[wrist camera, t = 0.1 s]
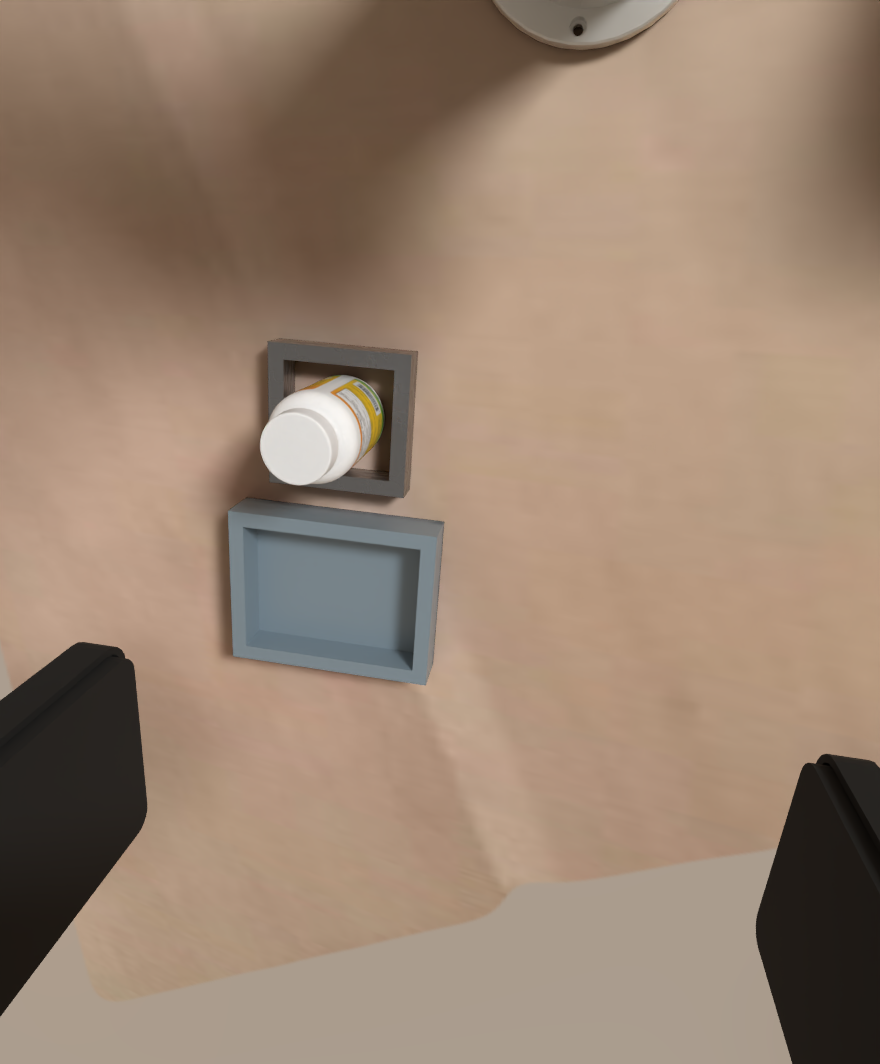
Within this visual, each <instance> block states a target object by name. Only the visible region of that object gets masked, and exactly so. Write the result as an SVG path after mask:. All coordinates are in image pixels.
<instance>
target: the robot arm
mask: <svg viewBox="0 0 880 1064" xmlns="http://www.w3.org/2000/svg"><path fill="white" fill-rule="evenodd" d="M492 1H493V2H494V4H495V5H496V6H497V8H498V9H499V11H500V12H501V13H502V14H503V15H504V16H505V17H506V18H507V19H508V20H509V21H510V22H511V23H512V24H513V25H514V26H515V27H516V28H517V29H519V30H520V31H522V32H524V33H525V34H527V35H529V36H530V37H532V38H534V39H535V40H537V41H539V42H542V43H545V44H548V45H551V46H554V47H557V48H565V49H575V50H587V49H595V48H603V47H607V46H610V45H613V44H616V43H619V42H622V41H624V40H627V39H629V38H631V37H633V36H635V35H636V34H638V33H640V32H642V31H643V30H645V29H647V28H649V27H650V26H652V25H653V24H654V23H655V22H656V21H658V20H659V19H660V18H661V17H662V16H663V15H665V14H666V13H667V12H668V11H669V10H671V9H672V8H673V6H674V5H675V4H676V3H677V2H678V1H679V0H492ZM578 26H579V27H581V28H582V29H583V33H582V34H581V35H580V36H575V35H574V34H573V30H574V29H575V28H576V27H578ZM146 813H147V797H146V786H145V776H144V765H143V754H142V744H141V733H140V723H139V712H138V702H137V691H136V680H135V670H134V665H133V663H132V661H131V660H129V659H125V655H124V653H123V651H122V650H121V649H119V648H118V647H112V646H106V645H99V644H92V643H86V642H78V643H76V644H75V645H73V646H71V647H70V648H69V649H67V650H66V651H65V652H63V653H62V654H61V655H59V656H58V657H57V658H56V659H54V660H53V661H52V662H50V663H49V664H48V665H46V666H45V667H44V668H42V669H41V670H40V671H39V672H37V673H36V674H35V675H33V676H32V677H31V678H29V679H28V680H27V681H25V682H24V683H23V684H21V685H20V686H19V687H18V688H16V689H15V690H14V691H12V692H11V693H10V694H8V695H7V696H6V697H4V698H3V699H2V700H1V701H0V1016H1V1015H2V1014H3V1012H4V1011H5V1010H6V1008H7V1007H8V1006H9V1004H10V1003H11V1002H12V1000H13V999H14V998H15V996H16V995H17V994H18V992H19V991H20V990H21V988H22V987H23V986H24V984H25V983H26V982H27V980H28V979H29V978H30V976H31V975H32V974H33V972H34V971H35V970H36V969H37V967H38V966H39V965H40V963H41V962H42V961H43V959H44V958H45V957H46V955H47V954H48V953H49V951H50V950H51V949H52V947H53V946H54V944H55V943H56V942H57V941H58V939H59V938H60V937H61V935H62V934H63V933H64V931H65V930H66V929H67V927H68V926H69V925H70V923H71V922H72V921H73V919H74V918H75V917H76V915H77V914H78V913H79V911H80V910H81V909H82V907H83V906H84V905H85V903H86V902H87V901H88V899H89V898H90V897H91V895H92V894H93V893H94V892H95V890H96V889H97V888H98V886H99V885H100V884H101V882H102V881H103V880H104V878H105V877H106V876H107V874H108V873H109V872H110V870H111V869H112V868H113V866H114V865H115V864H116V862H117V861H118V860H119V858H120V857H121V856H122V854H123V853H124V852H125V850H126V849H127V848H128V846H129V845H130V844H131V842H132V841H133V840H134V838H135V837H136V836H137V834H138V833H139V831H140V830H141V828H142V826H143V823H144V821H145V817H146ZM756 938H757V944H758V948H759V952H760V955H761V959H762V962H763V965H764V969H765V972H766V976H767V979H768V982H769V986H770V989H771V993H772V996H773V999H774V1003H775V1006H776V1009H777V1013H778V1016H779V1020H780V1023H781V1027H782V1030H783V1033H784V1037H785V1040H786V1044H787V1047H788V1050H789V1054H790V1057H791V1061H792V1064H880V768H879V767H878V766H877V765H876V763H875V762H872V761H870V760H864V759H857V758H850V757H844V756H837V755H831V754H824V755H821V757H820V758H819V759H818V760H817V763H816V764H814V763H806V764H805V765H804V766H803V768H802V770H801V773H800V776H799V779H798V783H797V786H796V789H795V793H794V796H793V799H792V802H791V806H790V809H789V812H788V816H787V819H786V822H785V825H784V829H783V832H782V835H781V838H780V842H779V845H778V848H777V852H776V855H775V858H774V862H773V865H772V868H771V871H770V875H769V878H768V881H767V884H766V888H765V891H764V894H763V897H762V901H761V904H760V908H759V911H758V914H757V919H756Z"/></svg>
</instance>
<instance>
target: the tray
mask: <svg viewBox="0 0 880 1064" xmlns="http://www.w3.org/2000/svg"><path fill="white" fill-rule="evenodd" d="M228 528H229V556H230V584H231V612H232V640H233V656H235V657H242V658H248V659H255V660H261V661H268V662H275V663H281V664H288V665H294V666H301V667H308V668H314V669H321V670H327V671H334V672H340V673H347V674H354V675H360V676H367V677H373V678H380V679H387V680H393V681H400V682H406V683H413V684H419V685H426V683H427V680H428V677H429V674H430V671H431V668H432V665H433V657H434V644H435V632H436V619H437V607H438V594H439V582H440V569H441V556H442V544H443V531H444V522H442V521H434V520H426V519H418V518H410V517H401V516H393V515H385V514H377V513H369V512H361V511H353V510H344V509H336V508H328V507H320V506H312V505H304V504H296V503H287V502H279V501H271V500H263V499H255V498H245V499H244V500H242V501H241V502H240V503H238V504H237V505H235V506H234V507H233V508H231V509H230V510H229V511H228Z"/></svg>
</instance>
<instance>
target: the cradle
mask: <svg viewBox="0 0 880 1064" xmlns="http://www.w3.org/2000/svg"><path fill="white" fill-rule="evenodd" d="M417 358H418V351H407V350H397V349H386V348H375V347H365V346H354V345H343V344H333V343H322V342H311V341H301V340H290V339H276V340H271V341H268V403H269V419H270V416H271V414H272V412H273V410H274V409H275V407H276V406H277V405H278V404H279V403H280V402H281V401H282V400H283V399H284V398H286V397H287V396H289V395H290V394H292V393H294V392H295V361H303V362H314V363H324V364H334V365H344V366H355V367H365V368H375V369H385V370H394V390H393V411H392V431H391V451H390V472H382V471H373V470H364V469H356V468H351V469H350V470H349V471H348V472H346V473H345V474H344V475H343V476H341V477H340V478H338V479H336V480H334V481H332V482H328V483H323V484H307V485H299V486H307V487H315V488H324V489H332V490H340V491H349V492H357V493H365V494H374V495H382V496H391V497H399V498H404V497H405V495H406V494H407V492H408V491H409V489H410V475H411V458H412V441H413V425H414V408H415V391H416V375H417ZM269 478H270V482H273V483H282V484H288V483H286V482H283V481H282V480H280V479H278V478H277V477H275V476H274V475H273V474H272V473H271V472H270V471H269ZM290 485H292V484H290Z"/></svg>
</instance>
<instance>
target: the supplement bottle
mask: <svg viewBox="0 0 880 1064" xmlns="http://www.w3.org/2000/svg"><path fill="white" fill-rule="evenodd" d="M384 423H385V415H384V409H383V405H382V403H381V400H380V398H379V396H378V395H377V393H376V392H375V391H374V389H373V388H372V387H371V386H370V385H368V384H367V383H366V382H364V381H363V380H361V379H359V378H356V377H353V376H349V375H335V376H331V377H328V378H325V379H323V380H321V381H319V382H317V383H314V384H312V385H310V386H308V387H306V388H304V389H301V390H299V391H297V392H294V393H292V394H290V395H289V396H287V397H286V398H284V399H283V400H282V401H281V402H280V403H279V404H278V405H277V406H276V407H275V409H274V410H273V412H272V414H271V416H270V419H269V422H268V423H267V425H266V426H265V428H264V430H263V432H262V435H261V439H260V452H261V456H262V459H263V461H264V463H265V465H266V467H267V468H268V469H269V471H270V472H271V473H272V474H273V475H274V476H275V477H277V478H278V479H280V480H282V481H283V482H286V483H288V484H292V485H307V484H323V483H328V482H332V481H334V480H336V479H338V478H340V477H341V476H343V475H344V474H345V473H346V472H348V471H349V470H350V469H351V468H352V467H353V466H354V465H355V464H356V463H357V462H358V461H359V460H360V459H361V458H362V457H363V456H364V455H365V454H366V453H367V452H369V451H370V450H371V449H372V448H373V447H374V445H375V444H376V443H377V441H378V440H379V438H380V436H381V434H382V431H383V428H384Z"/></svg>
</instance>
